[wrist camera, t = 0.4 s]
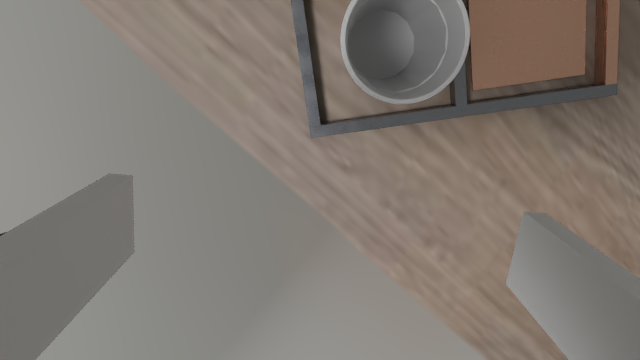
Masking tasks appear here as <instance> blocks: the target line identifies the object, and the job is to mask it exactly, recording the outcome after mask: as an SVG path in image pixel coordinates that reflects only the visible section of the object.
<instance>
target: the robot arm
mask: <svg viewBox="0 0 640 360" xmlns="http://www.w3.org/2000/svg"><path fill="white" fill-rule="evenodd" d="M133 253H134V210H133V176H132V175H121V174H108V175H106V176H104V177H102V178H101V179H99V180H97V181H95V182H94V183H92V184H90V185H88V186H87V187H85V188H83V189H81V190H80V191H78V192H76V193H74V194H73V195H71V196H69V197H67V198H66V199H64V200H62V201H60V202H59V203H57V204H55V205H54V206H52V207H50V208H48V209H47V210H45V211H43V212H42V213H40V214H38V215H36V216H34V217H33V218H31V219H29V220H27V221H26V222H24V223H22V224H20V225H19V226H17V227H15V228H14V229H12V230H10V231H8V232H5V233H2V234H0V360H36V359H37V357H39V355H40V354H41V353H42V352H43V351H44V350H45V349H46V348H47V347H48V346H49V345H50V343H51V342H52V341H53V340H54V339H55V338H56V337H57V336H58V335H59V334H60V333H61V331H62V330H63V329H64V328H65V327H66V326H67V325H68V324H69V323H70V322H71V321H72V319H73V318H74V317H75V316H76V315H77V314H78V313H79V312H80V311H81V310H82V309H83V307H84V306H85V305H86V304H87V303H88V302H89V301H90V300H91V299H92V297H94V296H95V294H96V293H97V292H98V291H99V290H100V289H101V288H102V287H103V286H104V284H106V282H107V281H108V280H109V279H110V278H111V277H112V276H113V275H114V274H115V273H116V272H117V270H118V269H119V268H120V267H121V266H122V265H123V264H124V263H125V262H126V260H128V258H129V257H130V256H131V255H132V254H133ZM506 285H507V286H508V287H509V288H510V289H511V291H512V292H513V293H514V294H515V295H516V297H517V298H518V299H519V300H520V301H521V303H522V304H523V305H524V306H525V307H526V309H527V310H528V311H529V312H530V313H531V315H532V316H533V317H534V318H535V319H536V321H537V322H538V323H539V324H540V325H541V327H542V328H543V329H544V330H545V331H546V333H547V334H548V335H549V336H550V337H551V339H552V340H553V341H554V342H555V344H556V345H557V346H558V347H559V348H560V350H561V351H562V352H563V353H564V354H565V356H566V357H567V358H568V359H569V360H640V278H638V277H637V276H635V275H634V274H632V273H631V272H629V271H628V270H626V269H625V268H624V267H622V266H621V265H619V264H618V263H616V262H615V261H613V260H612V259H611V258H609V257H608V256H606V255H605V254H603V253H602V252H600V251H599V250H597V249H596V248H595V247H593V246H592V245H590V244H589V243H587V242H586V241H584V240H583V239H582V238H580V237H579V236H577V235H576V234H574V233H573V232H571V231H570V230H569V229H567V228H566V227H564V226H563V225H561V224H560V223H558V222H557V221H555V220H554V219H553V218H551V217H550V216H548V215H547V214H543V213H532V212H523V217H522V221H521V225H520V229H519V233H518V237H517V241H516V245H515V249H514V253H513V258H512V262H511V266H510V270H509V274H508V278H507V282H506Z"/></svg>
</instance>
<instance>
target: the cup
mask: <svg viewBox="0 0 640 360" xmlns="http://www.w3.org/2000/svg"><path fill="white" fill-rule="evenodd" d="M340 42H341V52H342V56H343V60H344V63H345V66H346V68H347V70H348V72H349V74H350V75H351V77H352V78H353V80H354V81H355V82H356V84H357V85H358V86H359V87H360V88H361V89H362V90H364V91H365V92H366V93H368V94H369V95H371V96H372V97H374V98H376V99H378V100H381V101H384V102H387V103H392V104H412V103H417V102H420V101H423V100H426V99H428V98H430V97H432V96H434V95H436V94H437V93H439V92H440V91H442V90H443V89H444V88H445V87H446V86H448V85H449V84H450V83H451V81H452V80H453V79H454V78H455V77H456V75H457V74H458V72H459V71H460V69H461V67H462V65H463V63H464V61H465V58H466V55H467V52H468V48H469V42H470V23H469V18H468V14H467V10H466V8H465V5H464V3H463V1H462V0H352V1H351V3H350V4H349V6H348V8H347V11H346V13H345V16H344V19H343V23H342V27H341V37H340Z"/></svg>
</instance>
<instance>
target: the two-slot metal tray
mask: <svg viewBox="0 0 640 360" xmlns="http://www.w3.org/2000/svg"><path fill="white" fill-rule="evenodd" d="M291 6H292V12H293V19H294V26H295V33H296V39H297V46H298V53H299V60H300V66H301V73H302V80H303V87H304V93H305V100H306V107H307V114H308V120H309V127H310V134H311V138H315V137H322V136H329V135H336V134H343V133H350V132H358V131H365V130H372V129H379V128H386V127H393V126H400V125H407V124H414V123H421V122H428V121H435V120H442V119H450V118H457V117H464V116H471V115H478V114H485V113H492V112H499V111H506V110H513V109H520V108H527V107H534V106H542V105H549V104H556V103H563V102H570V101H577V100H584V99H591V98H598V97H605V96H612V95H617V69H618V41H619V13H620V0H597V6H596V50H595V84H592V85H585V86H578V87H571V88H564V89H557V90H550V91H543V92H536V93H529V94H522V95H515V96H508V97H501V98H494V99H487V100H480V101H473V102H467V88H466V69H465V61H464V63H463V65H462V67H461V69H460V71H459V72H458V74H457V75H456V77H455V78H454V79H453V80H452V81H451V83H450V99H451V105H445V106H438V107H431V108H424V109H416V110H409V111H402V112H395V113H388V114H381V115H374V116H367V117H360V118H353V119H346V120H339V121H332V122H325V123H320V116H319V109H318V102H317V95H316V88H315V81H314V74H313V66H312V59H311V52H310V45H309V38H308V31H307V24H306V17H305V10H304V3H303V0H291ZM468 13H469V23H470V54H471V75H472V90H480V89H487V88H494V87H501V86H508V85H515V84H522V83H529V82H536V81H543V80H550V79H557V78H564V77H571V76H578V75H585V49H586V0H468Z"/></svg>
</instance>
